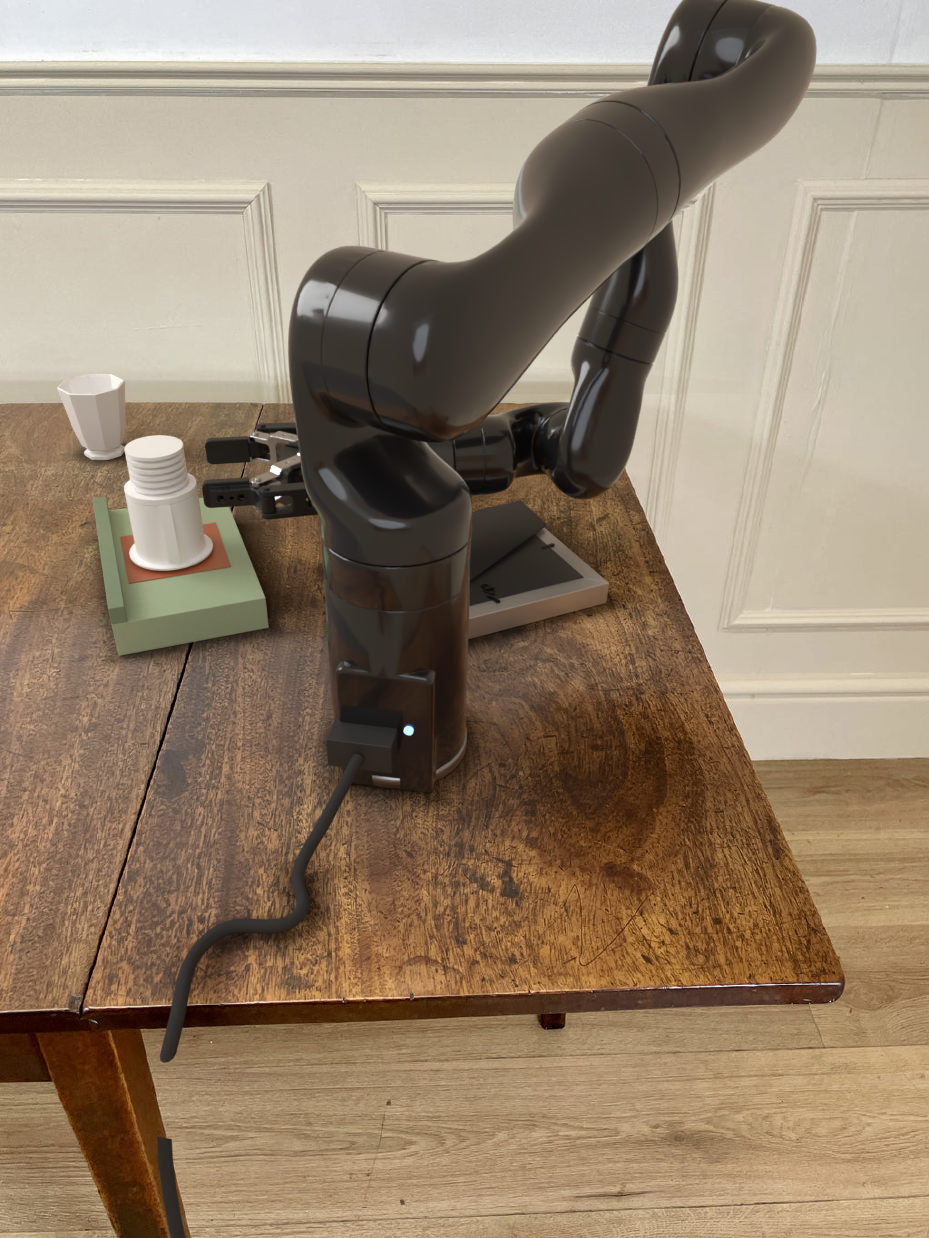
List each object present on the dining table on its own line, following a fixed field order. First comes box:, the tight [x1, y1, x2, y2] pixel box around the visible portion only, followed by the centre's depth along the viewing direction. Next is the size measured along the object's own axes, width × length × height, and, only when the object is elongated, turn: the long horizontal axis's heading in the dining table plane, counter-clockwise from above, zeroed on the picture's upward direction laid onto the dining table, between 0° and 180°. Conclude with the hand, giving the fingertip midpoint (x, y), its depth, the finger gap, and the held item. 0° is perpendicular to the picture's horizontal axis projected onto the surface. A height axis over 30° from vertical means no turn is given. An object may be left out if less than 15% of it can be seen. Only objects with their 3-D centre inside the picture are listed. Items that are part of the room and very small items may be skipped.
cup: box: [56, 373, 127, 461], centre depth 106 cm, size 7×10×8 cm
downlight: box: [123, 434, 213, 571], centre depth 80 cm, size 8×7×10 cm
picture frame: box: [321, 500, 610, 640], centre depth 84 cm, size 16×3×21 cm
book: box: [92, 496, 270, 657], centre depth 83 cm, size 12×20×4 cm, turn 21°
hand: (204, 472), depth 79 cm, fingers open, 8 cm apart
